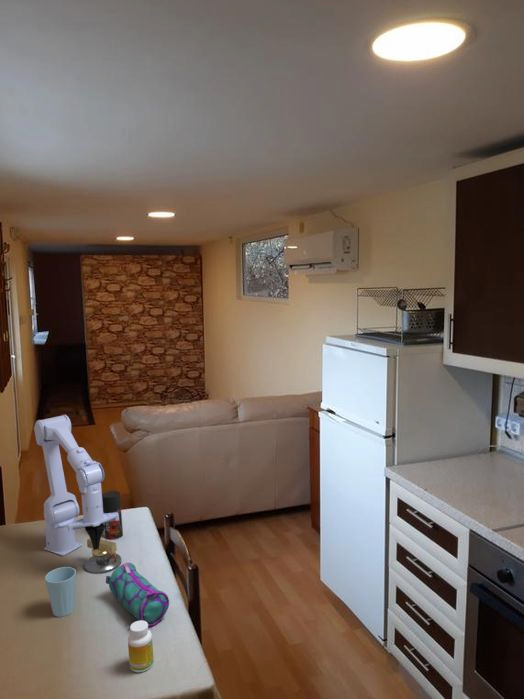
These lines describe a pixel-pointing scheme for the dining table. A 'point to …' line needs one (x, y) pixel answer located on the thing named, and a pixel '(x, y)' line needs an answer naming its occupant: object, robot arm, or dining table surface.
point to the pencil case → (138, 594)
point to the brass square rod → (102, 548)
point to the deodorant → (111, 506)
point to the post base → (102, 563)
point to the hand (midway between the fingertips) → (95, 547)
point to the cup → (61, 590)
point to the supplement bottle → (140, 647)
